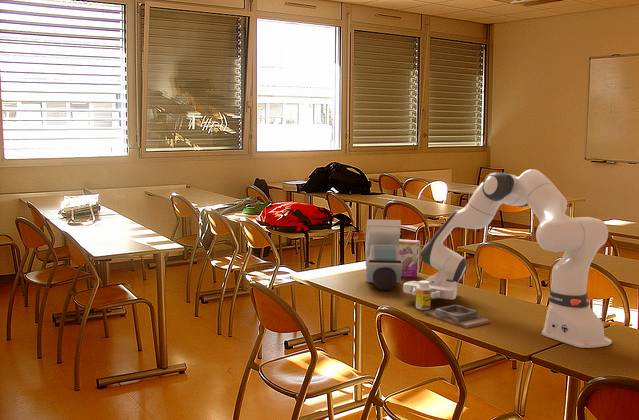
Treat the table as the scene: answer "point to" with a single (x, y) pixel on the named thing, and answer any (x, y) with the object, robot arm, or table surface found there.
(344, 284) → the table surface
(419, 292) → the supplement bottle
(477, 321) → the cup holder board
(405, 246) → the candy bar box
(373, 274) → the robot
